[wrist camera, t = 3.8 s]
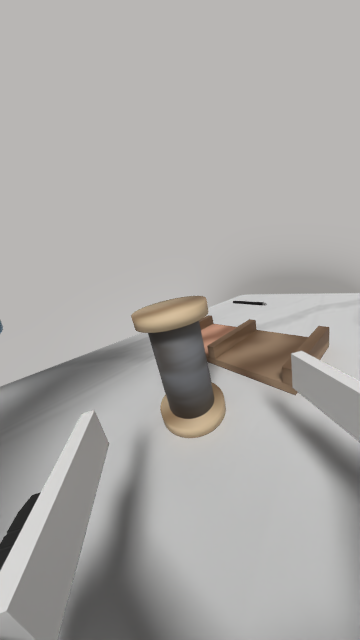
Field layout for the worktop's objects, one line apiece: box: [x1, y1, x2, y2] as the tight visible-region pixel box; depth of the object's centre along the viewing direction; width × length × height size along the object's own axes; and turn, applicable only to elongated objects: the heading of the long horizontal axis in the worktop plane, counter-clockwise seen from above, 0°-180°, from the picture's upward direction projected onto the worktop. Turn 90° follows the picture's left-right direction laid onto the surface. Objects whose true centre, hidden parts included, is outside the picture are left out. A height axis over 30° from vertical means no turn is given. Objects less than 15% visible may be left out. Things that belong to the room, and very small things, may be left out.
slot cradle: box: [199, 316, 329, 395], centre depth 30 cm, size 23×12×3 cm, turn 39°
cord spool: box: [131, 296, 226, 438], centre depth 18 cm, size 7×7×12 cm
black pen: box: [233, 301, 267, 305], centre depth 55 cm, size 12×1×1 cm, turn 30°
